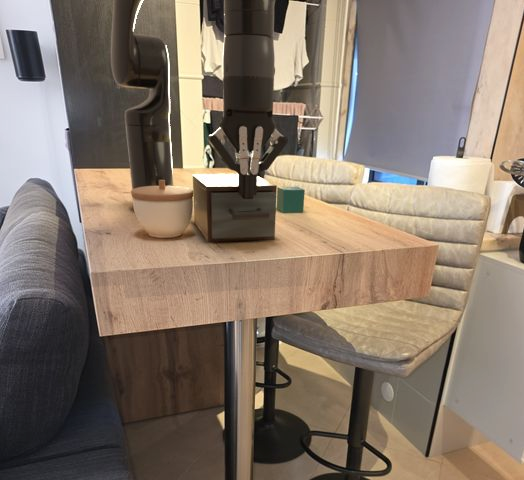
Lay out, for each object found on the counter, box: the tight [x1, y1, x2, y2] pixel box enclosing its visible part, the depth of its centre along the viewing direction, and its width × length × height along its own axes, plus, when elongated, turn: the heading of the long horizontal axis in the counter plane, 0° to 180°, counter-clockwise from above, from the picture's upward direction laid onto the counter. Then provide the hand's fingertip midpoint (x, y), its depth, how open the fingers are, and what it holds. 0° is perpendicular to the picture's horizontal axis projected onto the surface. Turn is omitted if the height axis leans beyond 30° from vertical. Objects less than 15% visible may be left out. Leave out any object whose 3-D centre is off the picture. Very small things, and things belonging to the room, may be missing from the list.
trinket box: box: [130, 180, 194, 239], centre depth 81 cm, size 11×11×9 cm
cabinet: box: [192, 173, 278, 243], centre depth 86 cm, size 16×12×9 cm
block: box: [276, 186, 306, 214], centre depth 106 cm, size 5×5×5 cm
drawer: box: [211, 191, 277, 239], centre depth 82 cm, size 20×11×7 cm, turn 16°
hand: (247, 198), depth 74 cm, fingers closed
